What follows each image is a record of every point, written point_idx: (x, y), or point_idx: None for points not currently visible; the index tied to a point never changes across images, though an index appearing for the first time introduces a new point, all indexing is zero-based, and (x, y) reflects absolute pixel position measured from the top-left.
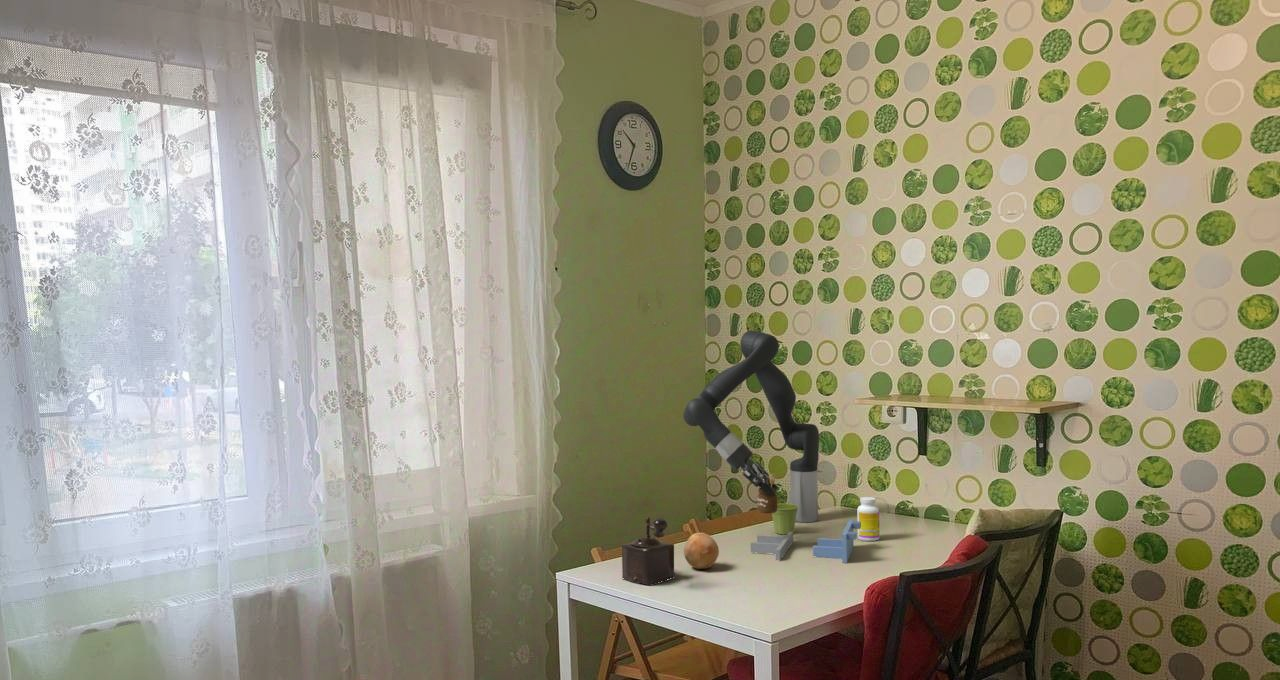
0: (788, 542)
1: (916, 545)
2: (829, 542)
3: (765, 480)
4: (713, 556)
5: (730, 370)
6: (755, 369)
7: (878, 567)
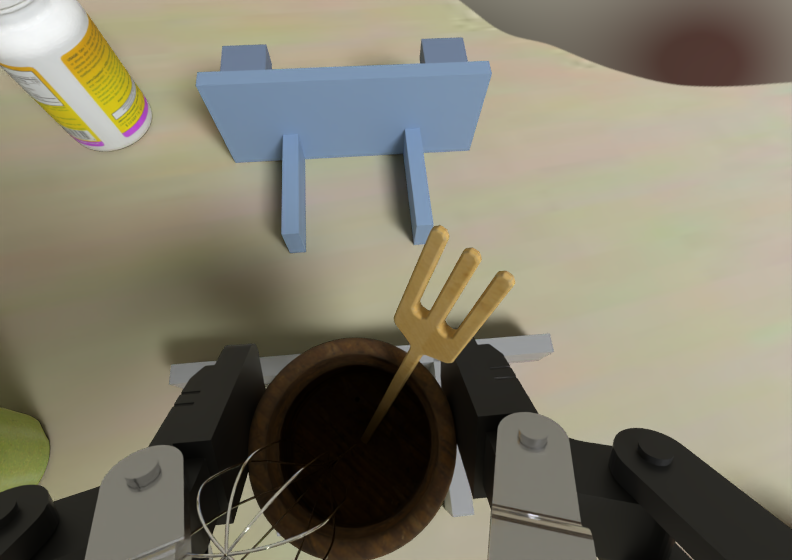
0: None
1: (185, 9)
2: (300, 197)
3: (204, 507)
4: None
5: None
6: None
7: None
